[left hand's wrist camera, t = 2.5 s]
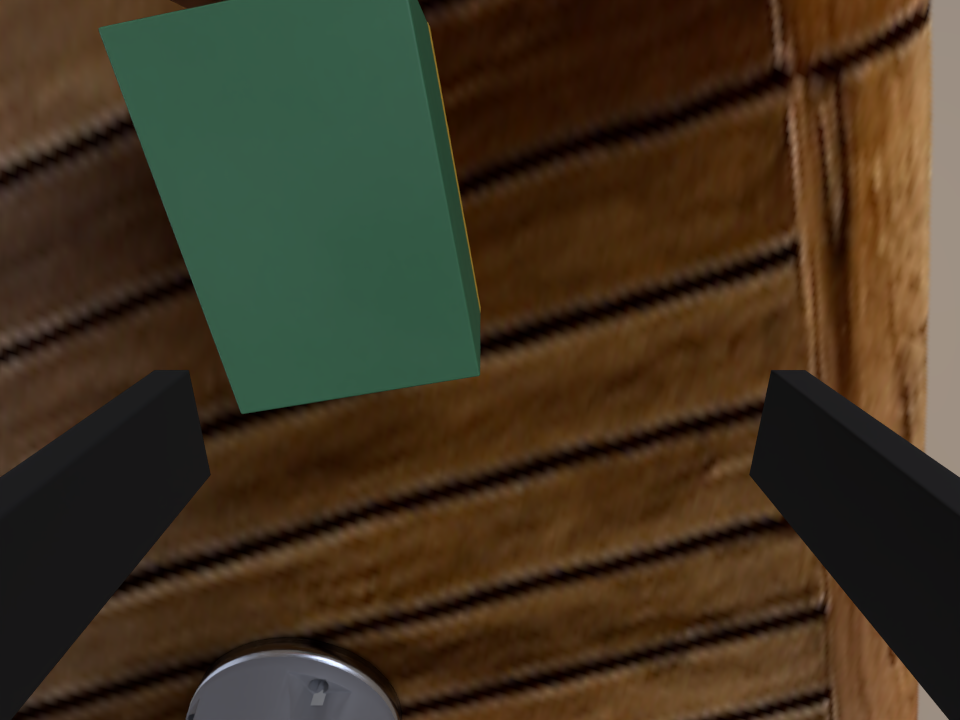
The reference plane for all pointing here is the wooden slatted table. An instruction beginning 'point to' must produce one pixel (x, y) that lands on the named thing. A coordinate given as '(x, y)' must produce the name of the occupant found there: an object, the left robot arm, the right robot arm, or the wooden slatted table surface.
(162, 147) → the cabinet
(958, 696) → the left robot arm
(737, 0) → the wooden slatted table surface
